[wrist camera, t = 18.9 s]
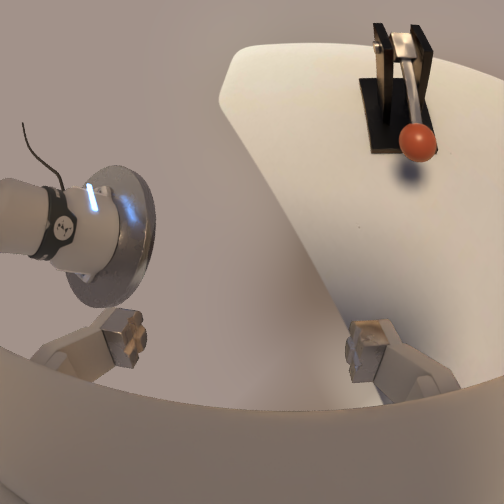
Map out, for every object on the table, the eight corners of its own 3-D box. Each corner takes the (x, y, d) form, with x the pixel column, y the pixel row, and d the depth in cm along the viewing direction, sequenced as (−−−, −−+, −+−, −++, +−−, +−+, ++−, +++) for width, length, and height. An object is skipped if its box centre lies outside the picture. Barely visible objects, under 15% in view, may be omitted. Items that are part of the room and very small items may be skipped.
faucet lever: (431, 160, 24) (442, 165, 20) (397, 160, 25) (404, 164, 22) (413, 42, 19) (421, 31, 15) (379, 41, 20) (382, 29, 17)
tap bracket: (436, 154, 28) (466, 83, 14) (371, 153, 31) (370, 77, 18) (416, 83, 29) (424, 7, 16) (359, 83, 33) (346, 5, 19)
